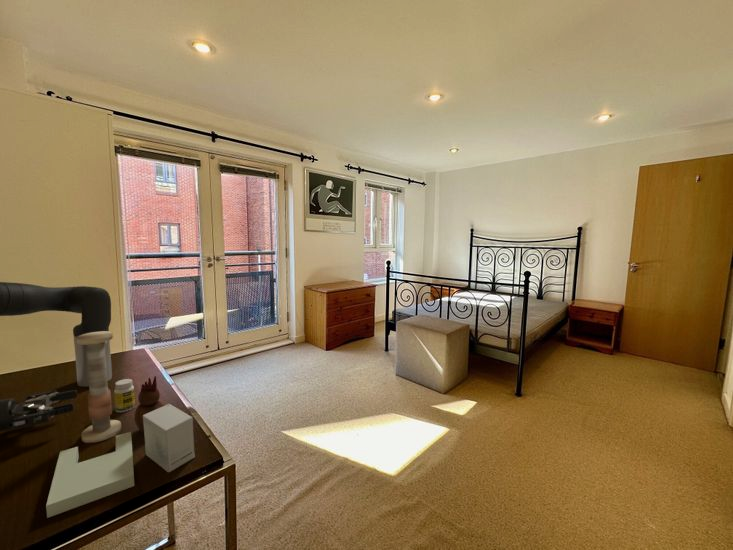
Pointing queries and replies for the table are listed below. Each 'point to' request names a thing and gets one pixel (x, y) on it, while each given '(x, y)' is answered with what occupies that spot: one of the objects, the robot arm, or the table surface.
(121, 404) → the supplement bottle
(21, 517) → the table surface
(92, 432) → the bobbin post
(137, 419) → the wooden figurine
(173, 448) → the skincare box
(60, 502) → the notched board
